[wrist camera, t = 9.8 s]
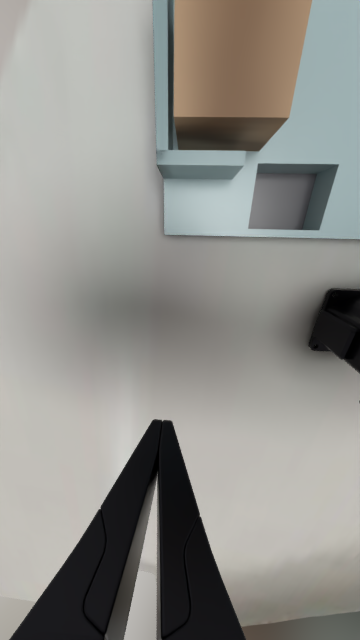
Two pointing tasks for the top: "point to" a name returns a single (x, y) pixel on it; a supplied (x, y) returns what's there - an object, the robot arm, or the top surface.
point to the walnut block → (235, 70)
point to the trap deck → (273, 145)
